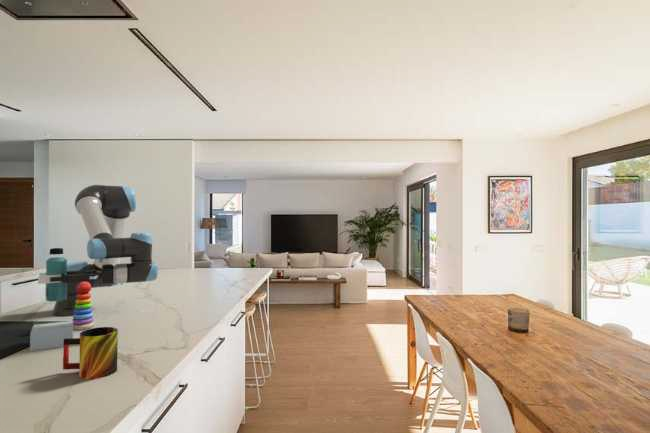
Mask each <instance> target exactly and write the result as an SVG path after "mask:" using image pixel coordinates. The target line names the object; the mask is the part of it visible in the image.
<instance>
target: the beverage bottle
mask: <svg viewBox="0 0 650 433" xmlns="http://www.w3.org/2000/svg"><path fill="white" fill-rule="evenodd" d="M49 255H64V248H62V247H61V248H60V247H53V248H50V249H49ZM45 264H46V265H45V270H46V271H45V273H46V275H61V273H64V275H67V264H68V260H67V259H66V258H65V257H64V256H62V257H59V256H58V257H49V258H47V260H46V261H45ZM67 287H68V286H67V283H62V282H60V283H45V300H46V301H47V302H56V301H62V300H66V299H67V296H68V295H67Z"/></svg>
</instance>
